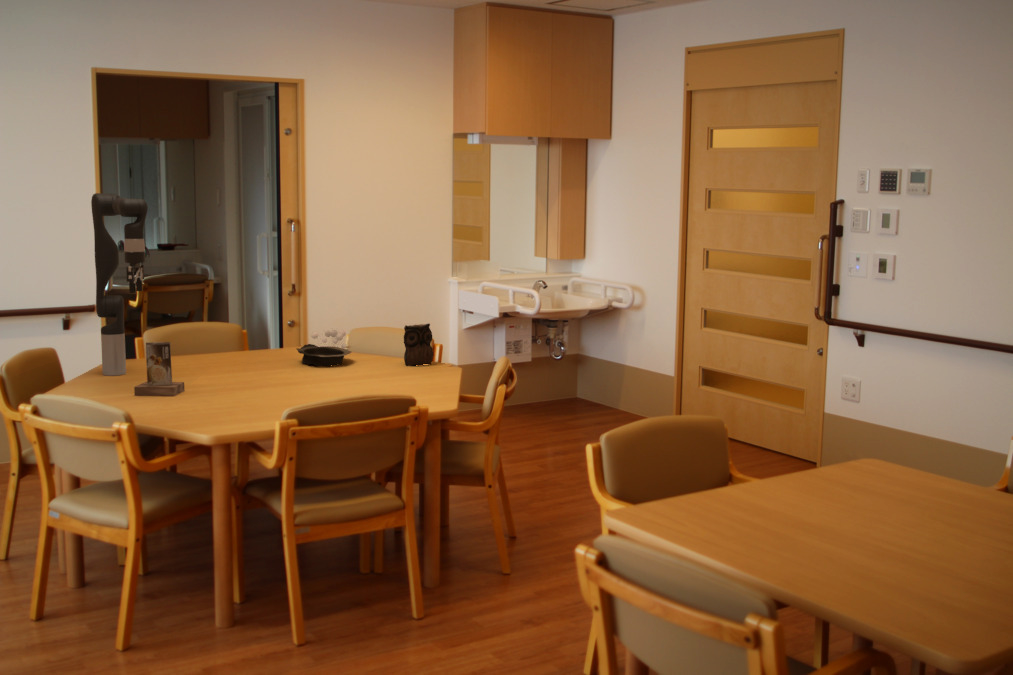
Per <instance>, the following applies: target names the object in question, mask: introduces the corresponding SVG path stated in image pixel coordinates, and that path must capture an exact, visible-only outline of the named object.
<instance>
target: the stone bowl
mask: <svg viewBox="0 0 1013 675" xmlns="http://www.w3.org/2000/svg"><path fill="white" fill-rule="evenodd" d="M316 345H317V344H312V343H307V344H304V345H302V346H301V347H300V348H298V347H296V350H297V352H298V353H299V354H301V355H303V356H302V360H301V363H302V365H304V366H305V365H306V366H308V365H309V366H310V364H311V365H313V366H314V367H319V366H326V367H332V366H331V365H336V366H338V365H337V364H340V365H341V364H342V363H343V360H344V358H345V356H348V355H351V354H352V351H351V350H349V349H347V348H342V347H341V348H340V347H339V346H338V347H337V346H335V347H334V346H333V345H332V346H330V345H329V346H328V345H327V346H326V345H325V346H326V347H325V346H324V345H322V346H318V345H317V346H316Z"/></svg>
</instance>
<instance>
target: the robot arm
mask: <svg viewBox="0 0 1013 675" xmlns="http://www.w3.org/2000/svg"><path fill="white" fill-rule="evenodd" d="M90 204H91V214H92V225H93V233H94V234H93V235H94V236H93V237H94V264H95V283H96V286H95V293H96V294H95V310H96V315H97V317H99V318H102V319H104V318H108V319H109V318H115V320H114V321H113V322H111V323H109V324H106V325H104V326H102V327H101V328H100V338H101V343H100V344H101V363H102V364H101V366H102V369H101V370H102V371H101V372H102V375H103V376H123V375H125V374H127V362H126V360H127V358H126V357H127V356H126V337H125V336H126V332H125V300H124V297H123V296H122V295H121V294H120V295H105V291H106V287H107V286H108V283H109V281H110V279H111V278H112V276H113V275H114V274H115V272H116V270H117V268H118V266H119V264H120V254H119V246H118V244H117V243H116V241H115V240H114V238H113V237H112V236H111V235H110V233H109V232H108V229H107V228H106V226H105V223H104V218H103V217H115V216H121V217H122V218H123V217H124V218H136V219H135V220H134V222H130V223H125V225H124V227H123V231H124V233H123V234H124V244H123V248H124V249H123V250H124V253H123V254H124V255H123V256H124V263H126V264H129V266H127V265H126V268H125V269H126V282H127V283H128V284H129V286H128V287H129V290H128V291H129V293H130V294H136V292H143V281H144V280H145V266H144V263H146V249H145V248H146V246H145V245H146V244H145V239H144V238H145V236H144V235H145V234H144V228H145V222H146V221H145V220H146V218H147V215H148V211H149V210H148V207H149V206H148V203H147V201H146V200H144V199H143V198H127V197H121V195H118V194H116V193H109V192H108V193H105V192H103V193H100V192H95V193H93V194H92V196H91V201H90Z"/></svg>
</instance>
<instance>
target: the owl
mask: <svg viewBox="0 0 1013 675" xmlns="http://www.w3.org/2000/svg"><path fill="white" fill-rule="evenodd" d="M430 326H431V323H421V324H413V325H406V324H405V325H404V328H403V329H404V334H403V344H404V347H405V351H404V355H403V360H404V365H405V366H406V367H417V366H416V365H423V364H430V365H431V364H432V362H433V359H434V358H433V357H434V356H435V355H434V351H433V349H434V348H433V347H432V345H431V343H432V341H433V333H432V330H431V328H430Z"/></svg>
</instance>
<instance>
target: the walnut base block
mask: <svg viewBox="0 0 1013 675" xmlns="http://www.w3.org/2000/svg"><path fill="white" fill-rule="evenodd" d="M133 390H134V392H133V393H134V397H139V396H140V397H175V396H178V395H179V394H181V393H183V392H184V391H185V381H172V385H159V386H147V381H144V382H141V383H139V384H138V385H135V386H134V389H133Z"/></svg>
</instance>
